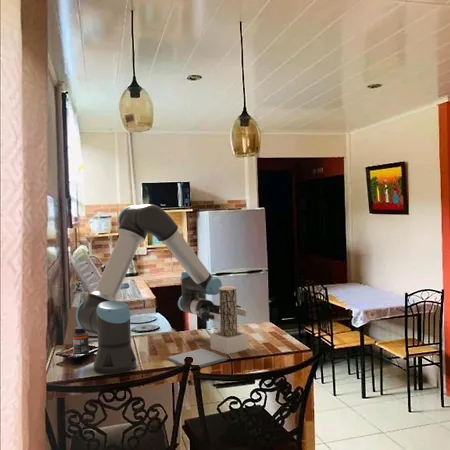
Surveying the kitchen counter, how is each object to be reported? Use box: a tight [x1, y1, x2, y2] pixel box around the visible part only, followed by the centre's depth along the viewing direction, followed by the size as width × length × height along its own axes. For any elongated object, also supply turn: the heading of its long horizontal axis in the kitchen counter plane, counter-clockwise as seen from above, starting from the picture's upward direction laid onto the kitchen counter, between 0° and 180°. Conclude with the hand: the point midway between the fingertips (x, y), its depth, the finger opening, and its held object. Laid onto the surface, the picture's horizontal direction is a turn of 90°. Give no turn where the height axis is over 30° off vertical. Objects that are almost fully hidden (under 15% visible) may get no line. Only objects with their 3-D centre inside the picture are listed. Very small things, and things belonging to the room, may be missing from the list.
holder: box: [209, 330, 249, 355], centre depth 191 cm, size 11×11×6 cm
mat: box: [167, 348, 228, 368], centre depth 177 cm, size 16×16×1 cm
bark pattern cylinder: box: [218, 285, 238, 338], centre depth 190 cm, size 7×7×25 cm
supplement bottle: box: [72, 325, 90, 356], centre depth 187 cm, size 6×6×11 cm
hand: (233, 315), depth 188 cm, fingers open, 13 cm apart
